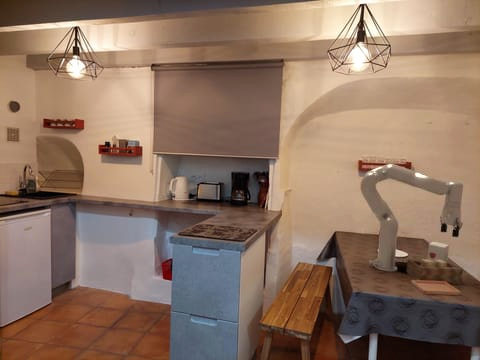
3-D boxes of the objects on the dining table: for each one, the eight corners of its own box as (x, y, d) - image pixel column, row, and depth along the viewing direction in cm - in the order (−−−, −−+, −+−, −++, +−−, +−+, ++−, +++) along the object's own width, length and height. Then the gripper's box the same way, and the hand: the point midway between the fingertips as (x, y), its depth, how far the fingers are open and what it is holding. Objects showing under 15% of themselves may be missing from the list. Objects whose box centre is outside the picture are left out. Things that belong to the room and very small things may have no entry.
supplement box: (426, 267, 197) (428, 243, 196) (430, 264, 204) (432, 241, 202) (443, 271, 191) (445, 247, 190) (447, 268, 197) (449, 244, 196)
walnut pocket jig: (419, 282, 174) (420, 267, 173) (406, 272, 188) (407, 259, 187) (461, 284, 173) (462, 269, 173) (445, 274, 187) (446, 260, 187)
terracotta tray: (424, 293, 159) (424, 290, 159) (410, 283, 172) (410, 279, 172) (460, 295, 159) (461, 291, 159) (444, 284, 172) (444, 281, 172)
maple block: (424, 272, 178) (425, 261, 177) (420, 269, 182) (421, 258, 182) (446, 273, 178) (447, 262, 177) (441, 270, 182) (442, 259, 182)
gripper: (436, 201, 187) (433, 230, 189) (456, 206, 170) (453, 238, 171) (448, 201, 187) (445, 230, 189) (470, 207, 170) (466, 239, 171)
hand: (449, 234), depth 180 cm, fingers open, 9 cm apart
